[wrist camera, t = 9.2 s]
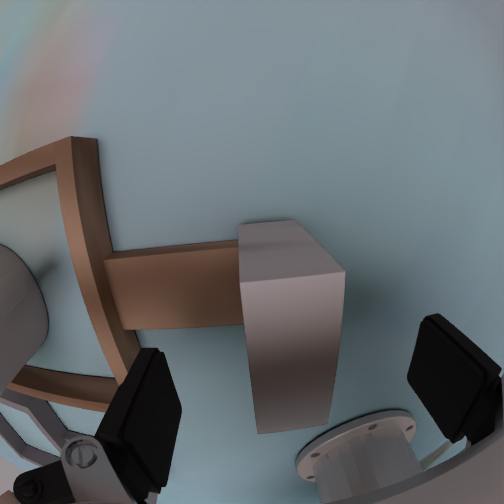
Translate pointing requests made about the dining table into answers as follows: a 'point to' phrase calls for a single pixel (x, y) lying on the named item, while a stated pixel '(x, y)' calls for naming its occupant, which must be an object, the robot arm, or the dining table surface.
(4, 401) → the grey frame with handle
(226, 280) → the brown frame with handle
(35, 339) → the mug
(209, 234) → the dining table surface
